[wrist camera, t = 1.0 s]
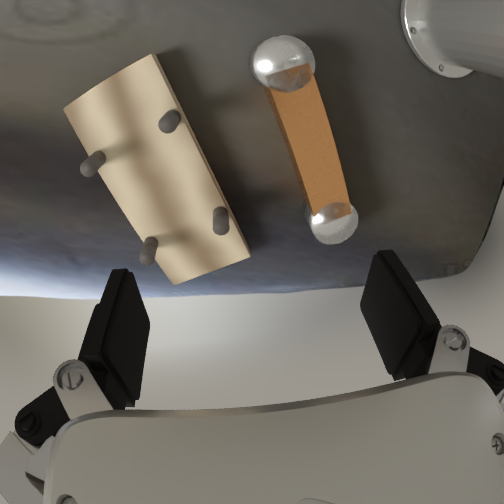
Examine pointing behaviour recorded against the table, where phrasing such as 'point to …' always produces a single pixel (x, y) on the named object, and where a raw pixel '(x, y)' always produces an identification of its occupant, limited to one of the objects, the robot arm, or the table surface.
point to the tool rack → (157, 172)
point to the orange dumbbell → (306, 134)
